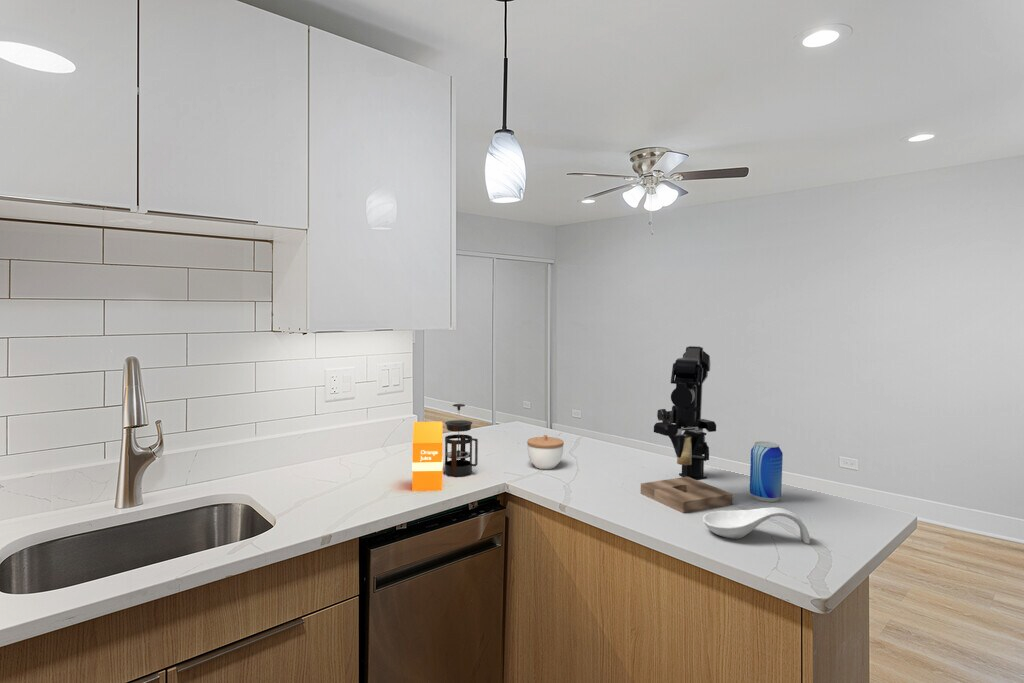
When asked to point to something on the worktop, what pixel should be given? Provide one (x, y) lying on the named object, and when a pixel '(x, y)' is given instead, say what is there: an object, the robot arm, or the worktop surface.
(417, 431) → the orange juice
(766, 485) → the beer can
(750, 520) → the spoon rest
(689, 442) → the brass sleeve
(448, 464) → the french press
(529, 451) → the lidded bowl
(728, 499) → the walnut jig
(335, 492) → the worktop surface
